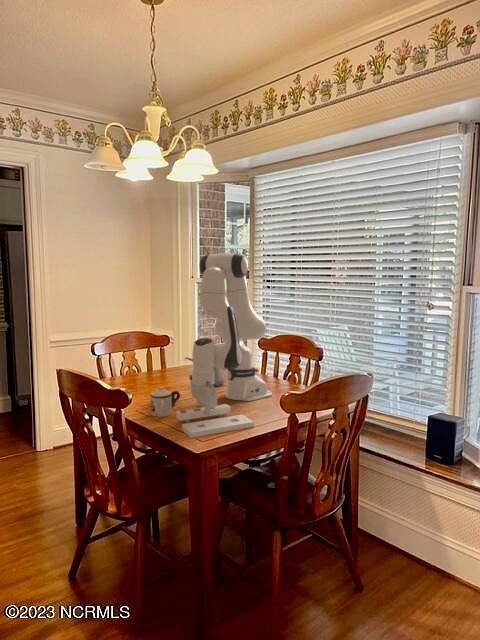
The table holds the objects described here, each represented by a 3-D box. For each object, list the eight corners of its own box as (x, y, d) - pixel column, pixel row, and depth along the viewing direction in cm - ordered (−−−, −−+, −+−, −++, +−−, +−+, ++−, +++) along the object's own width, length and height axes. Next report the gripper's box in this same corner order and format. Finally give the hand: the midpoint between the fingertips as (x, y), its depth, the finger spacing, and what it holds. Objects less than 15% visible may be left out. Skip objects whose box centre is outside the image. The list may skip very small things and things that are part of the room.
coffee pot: (224, 381, 247) (224, 354, 245) (226, 387, 236) (225, 358, 234) (185, 382, 245) (184, 355, 243) (184, 388, 234) (184, 359, 232)
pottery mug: (159, 411, 198) (152, 393, 200) (157, 414, 207) (150, 397, 208) (184, 401, 202) (177, 384, 204) (181, 404, 211) (175, 388, 213)
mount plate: (242, 419, 186) (242, 414, 185) (253, 426, 177) (253, 421, 176) (181, 429, 174) (181, 424, 174) (190, 437, 165) (190, 432, 165)
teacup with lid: (150, 411, 196) (149, 385, 195) (171, 409, 198) (170, 383, 197) (151, 420, 184) (150, 392, 183) (173, 418, 186) (173, 391, 185)
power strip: (226, 413, 193) (226, 402, 192) (230, 416, 189) (230, 405, 188) (176, 421, 183) (176, 409, 182) (180, 425, 179) (180, 413, 178)
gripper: (221, 384, 176) (221, 418, 178) (201, 373, 194) (202, 404, 196) (206, 386, 173) (206, 421, 175) (187, 374, 191) (188, 406, 193)
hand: (204, 412), depth 185 cm, fingers closed on power strip, 4 cm apart
